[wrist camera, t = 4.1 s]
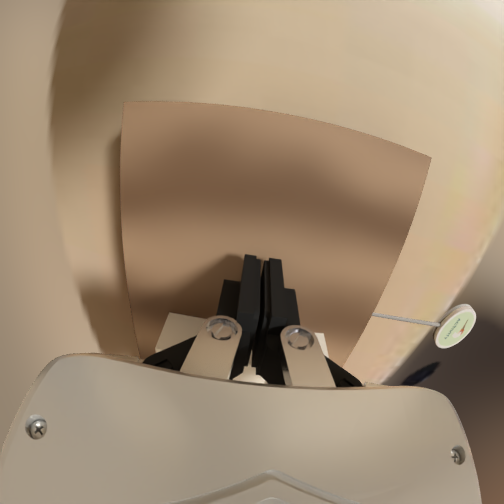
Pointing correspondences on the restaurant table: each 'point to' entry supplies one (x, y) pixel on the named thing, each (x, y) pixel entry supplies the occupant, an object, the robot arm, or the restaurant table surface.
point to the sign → (446, 325)
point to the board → (260, 213)
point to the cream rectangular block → (189, 326)
